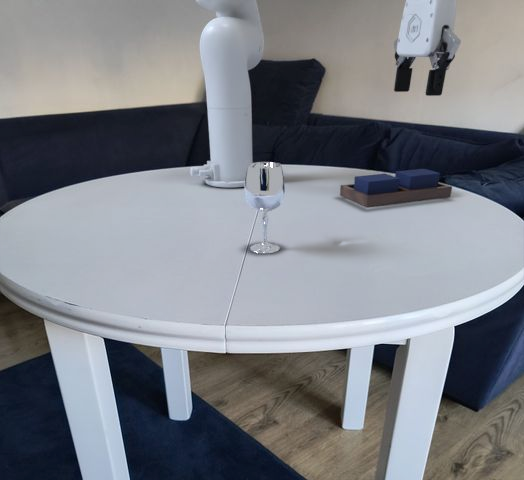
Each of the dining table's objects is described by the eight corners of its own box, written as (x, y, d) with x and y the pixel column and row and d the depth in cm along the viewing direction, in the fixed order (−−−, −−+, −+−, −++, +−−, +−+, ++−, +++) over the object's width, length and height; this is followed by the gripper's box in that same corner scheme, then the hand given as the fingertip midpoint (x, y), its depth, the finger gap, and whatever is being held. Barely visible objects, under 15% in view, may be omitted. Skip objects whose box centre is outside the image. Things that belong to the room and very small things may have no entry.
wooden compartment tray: (449, 199, 97) (452, 186, 95) (366, 210, 91) (367, 196, 89) (418, 189, 105) (420, 176, 103) (339, 198, 99) (340, 185, 97)
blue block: (366, 203, 93) (368, 181, 91) (352, 197, 97) (354, 176, 95) (397, 199, 95) (399, 178, 93) (382, 193, 99) (385, 173, 97)
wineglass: (245, 242, 75) (243, 161, 69) (281, 241, 76) (282, 160, 70) (246, 255, 71) (244, 169, 64) (286, 254, 71) (287, 168, 65)
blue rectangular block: (407, 197, 95) (410, 176, 93) (393, 191, 99) (395, 171, 97) (436, 193, 98) (440, 173, 96) (421, 188, 102) (424, 168, 100)
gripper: (387, -17, 88) (374, 90, 97) (451, -29, 74) (429, 97, 83) (421, -15, 90) (405, 90, 99) (489, -26, 76) (464, 96, 85)
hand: (416, 93), depth 91 cm, fingers open, 9 cm apart
